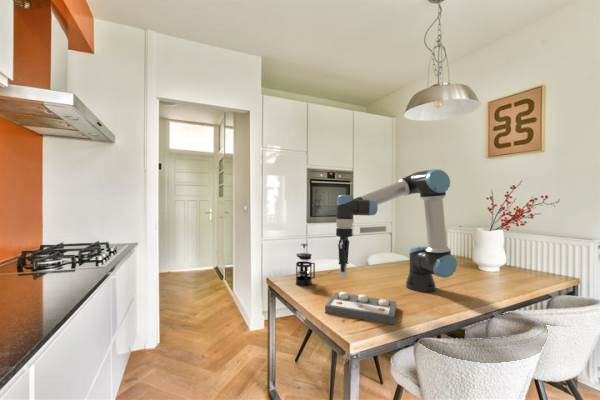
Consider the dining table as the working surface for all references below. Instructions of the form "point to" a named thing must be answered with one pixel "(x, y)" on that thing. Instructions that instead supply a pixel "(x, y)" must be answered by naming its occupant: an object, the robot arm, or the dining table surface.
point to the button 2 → (384, 302)
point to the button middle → (363, 298)
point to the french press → (304, 278)
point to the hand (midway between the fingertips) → (343, 278)
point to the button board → (362, 309)
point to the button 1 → (343, 295)
